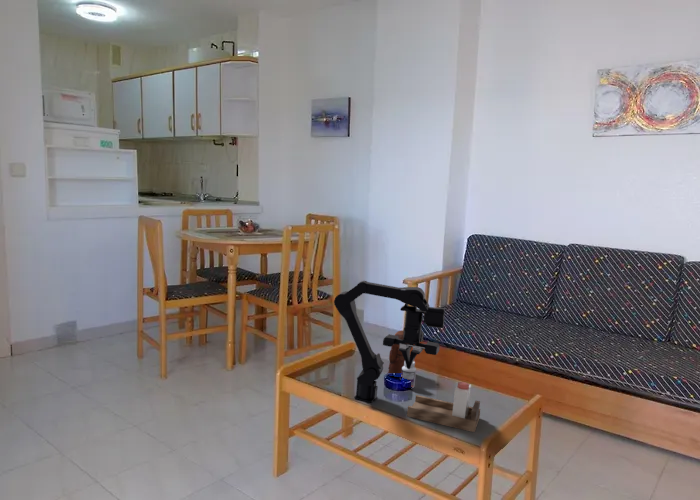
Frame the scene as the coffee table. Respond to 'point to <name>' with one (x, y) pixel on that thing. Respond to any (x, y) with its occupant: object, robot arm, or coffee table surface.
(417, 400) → the wooden tray
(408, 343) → the robot arm
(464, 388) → the white carton
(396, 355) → the wooden figurine
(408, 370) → the pill bottle
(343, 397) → the coffee table surface
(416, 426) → the coffee table surface
